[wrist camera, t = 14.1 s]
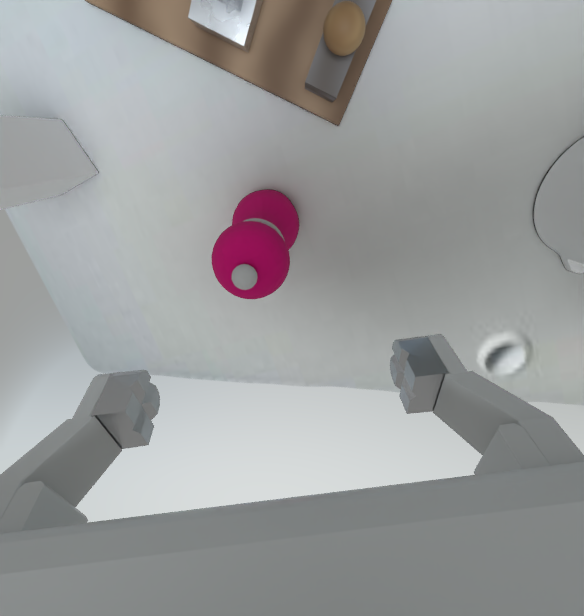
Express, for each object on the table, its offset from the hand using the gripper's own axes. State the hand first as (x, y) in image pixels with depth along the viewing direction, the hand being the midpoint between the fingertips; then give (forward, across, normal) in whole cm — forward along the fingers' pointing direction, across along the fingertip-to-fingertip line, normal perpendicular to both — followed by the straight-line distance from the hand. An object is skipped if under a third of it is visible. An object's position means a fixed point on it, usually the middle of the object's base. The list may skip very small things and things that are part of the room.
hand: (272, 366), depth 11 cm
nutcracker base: (+34, +1, -12) cm, 36 cm away
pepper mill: (+31, 0, +7) cm, 31 cm away
